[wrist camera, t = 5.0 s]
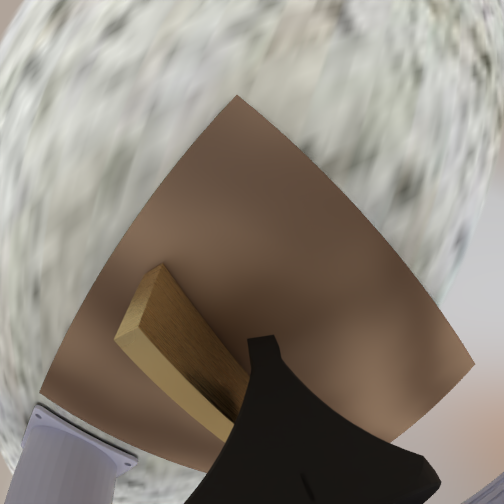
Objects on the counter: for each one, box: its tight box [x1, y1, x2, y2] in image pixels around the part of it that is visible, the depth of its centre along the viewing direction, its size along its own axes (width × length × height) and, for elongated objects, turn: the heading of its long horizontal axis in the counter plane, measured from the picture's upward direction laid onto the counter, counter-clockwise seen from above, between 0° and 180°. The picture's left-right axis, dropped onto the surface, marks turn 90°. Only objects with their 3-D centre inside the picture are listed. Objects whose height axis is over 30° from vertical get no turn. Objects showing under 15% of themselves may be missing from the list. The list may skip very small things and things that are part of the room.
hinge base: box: [39, 95, 475, 473], centre depth 12 cm, size 17×23×5 cm
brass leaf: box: [114, 263, 250, 442], centre depth 10 cm, size 12×2×4 cm, turn 29°
